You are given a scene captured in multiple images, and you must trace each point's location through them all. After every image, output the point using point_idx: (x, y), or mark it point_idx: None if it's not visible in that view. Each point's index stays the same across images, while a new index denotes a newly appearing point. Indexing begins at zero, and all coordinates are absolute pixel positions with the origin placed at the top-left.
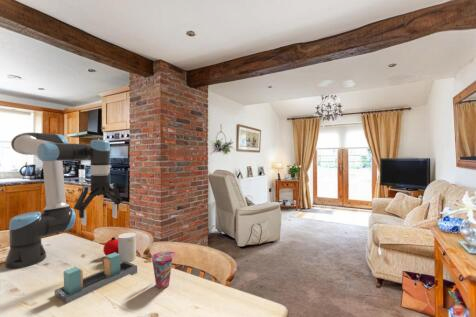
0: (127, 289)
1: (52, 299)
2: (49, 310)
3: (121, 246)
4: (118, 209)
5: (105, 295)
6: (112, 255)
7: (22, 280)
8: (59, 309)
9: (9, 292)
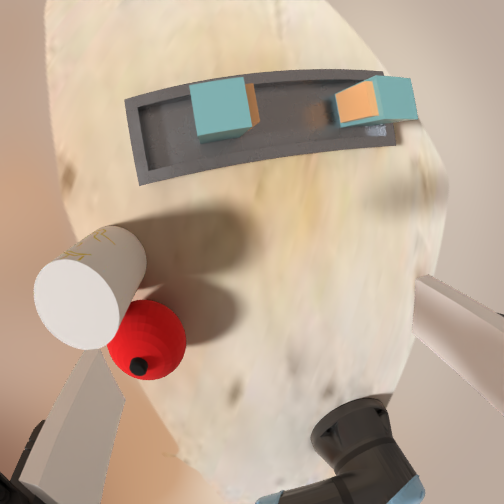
0: (214, 20)
1: None
2: None
3: (122, 266)
4: (36, 426)
5: (278, 39)
6: (223, 101)
7: (396, 324)
8: None
9: None
